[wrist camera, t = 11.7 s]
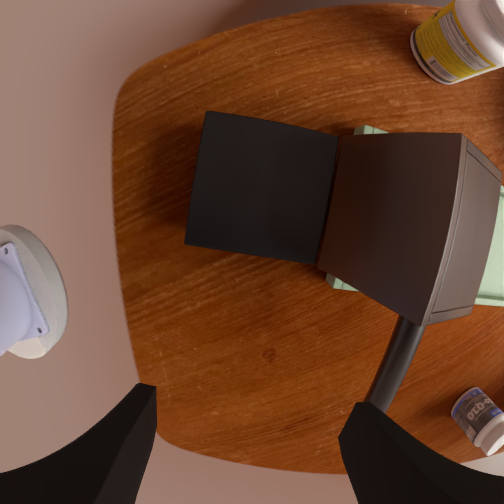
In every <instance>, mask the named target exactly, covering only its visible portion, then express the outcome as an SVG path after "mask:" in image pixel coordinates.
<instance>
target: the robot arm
mask: <svg viewBox="0 0 504 504" xmlns="http://www.w3.org/2000/svg"><path fill="white" fill-rule="evenodd" d="M7 250H8V252H7ZM40 329H41V330H40ZM49 331H50V330H49V326H48V324H47V322H46V320H45V318H44V316H43V314H42V312H41V310H40V308H39V305H38V303H37V301H36V299H35V297H34V294H33V292H32V290H31V287H30V285H29V282H28V280H27V277H26V275H25V272H24V270H23V267H22V264H21V262H20V259H19V256H18V253H17V250H16V247H15V245H14V243H12V242H9V243H7V244H5V245H4V246H2V247H1V248H0V356H2V355H3V354H4V353H5V352H6V351H7V350H8V349H9V348H10V347H11V346H13V345H14V344H15V343H16V342H20V341H23V340H27V339H31V338H35V337H39V336H42V335H46V334H47V333H49ZM156 428H157V406H156V386H152V385H147V384H143V383H138V384H136V385H135V386H134V388H133V389H132V390H131V391H130V392H129V393H128V394H127V395H126V396H125V397H124V398H123V399H122V401H120V402H119V404H117V405H116V406H115V407H114V408H113V409H112V410H111V411H110V412H109V413H108V414H107V415H106V416H105V417H104V418H102V419H101V420H100V421H99V422H98V423H96V424H95V425H94V426H93V427H92V428H90V429H89V430H88V431H87V432H85V433H84V434H83V435H81V436H80V437H78V438H77V439H76V440H74V441H73V442H71V443H70V444H68V445H66V446H65V447H63V448H61V449H60V450H58V451H56V452H54V453H52V454H51V455H49V456H47V457H45V458H43V459H40V460H38V461H36V462H33V463H30V464H28V465H25V466H23V467H20V468H17V469H14V470H11V471H7V472H3V473H0V504H135V501H136V496H137V493H138V490H139V487H140V484H141V481H142V478H143V475H144V472H145V469H146V466H147V463H148V460H149V457H150V453H151V451H152V447H153V442H154V438H155V433H156ZM338 439H339V445H340V450H341V455H342V459H343V462H344V465H345V468H346V471H347V473H348V476H349V479H350V481H351V484H352V487H353V490H354V492H355V495H356V497H357V501H358V504H504V477H503V476H496V475H491V474H488V473H484V472H480V471H477V470H474V469H470V468H468V467H466V466H463V465H461V464H458V463H456V462H454V461H452V460H450V459H448V458H446V457H444V456H442V455H440V454H438V453H437V452H435V451H433V450H432V449H430V448H429V447H427V446H426V445H424V444H423V443H421V442H420V441H418V440H417V439H416V438H414V437H413V436H412V435H410V434H409V433H408V432H407V431H405V430H404V429H403V428H402V427H400V426H399V425H398V424H397V423H395V422H394V421H393V420H392V419H391V418H389V417H388V416H387V415H386V414H385V413H383V412H382V411H381V410H380V409H378V408H377V407H376V406H375V405H373V404H372V403H371V402H357V403H356V404H355V406H354V408H353V410H352V412H351V414H350V416H349V418H348V420H347V422H346V424H345V426H344V428H343V429H342V431H341V433H340V435H339V437H338Z"/></svg>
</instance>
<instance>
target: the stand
mask: <svg viewBox="0 0 504 504" xmlns="http://www.w3.org/2000/svg"><path fill="white" fill-rule="evenodd" d="M338 142H339V137H338V136H334V135H331V134H327V133H323V132H319V131H315V130H311V129H307V128H303V127H298V126H294V125H289V124H285V123H280V122H275V121H270V120H264V119H259V118H253V117H248V116H241V115H235V114H228V113H221V112H214V111H206V114H205V118H204V123H203V128H202V134H201V139H200V144H199V150H198V155H197V161H196V167H195V173H194V179H193V185H192V191H191V198H190V204H189V211H188V218H187V226H186V233H185V241H184V243H185V244H186V245H191V246H197V247H204V248H210V249H216V250H223V251H229V252H236V253H242V254H248V255H255V256H261V257H268V258H274V259H281V260H287V261H294V262H300V263H307V264H315V262H316V258H317V253H318V249H319V244H320V239H321V235H322V230H323V225H324V220H325V215H326V210H327V205H328V200H329V195H330V189H331V184H332V178H333V172H334V167H335V161H336V155H337V148H338Z"/></svg>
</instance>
